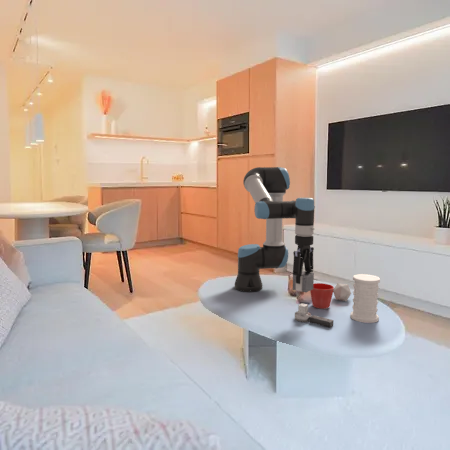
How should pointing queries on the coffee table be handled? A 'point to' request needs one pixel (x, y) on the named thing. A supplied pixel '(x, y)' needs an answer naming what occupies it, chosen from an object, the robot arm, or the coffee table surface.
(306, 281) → the grey wood-grain cube
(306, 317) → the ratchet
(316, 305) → the flower pot
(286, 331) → the coffee table surface
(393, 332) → the coffee table surface
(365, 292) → the decorative container
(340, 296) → the die
